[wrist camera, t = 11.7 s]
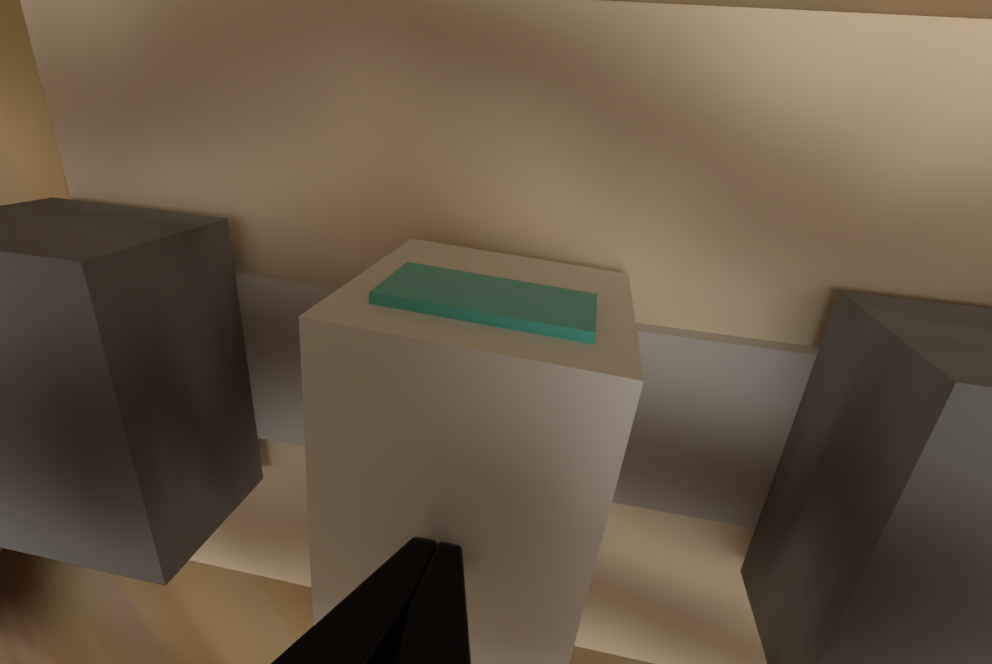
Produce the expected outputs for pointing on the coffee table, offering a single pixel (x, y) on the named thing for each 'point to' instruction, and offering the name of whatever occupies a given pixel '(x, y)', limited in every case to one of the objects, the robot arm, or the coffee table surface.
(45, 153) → the coffee table surface
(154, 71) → the rail panel
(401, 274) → the module block
